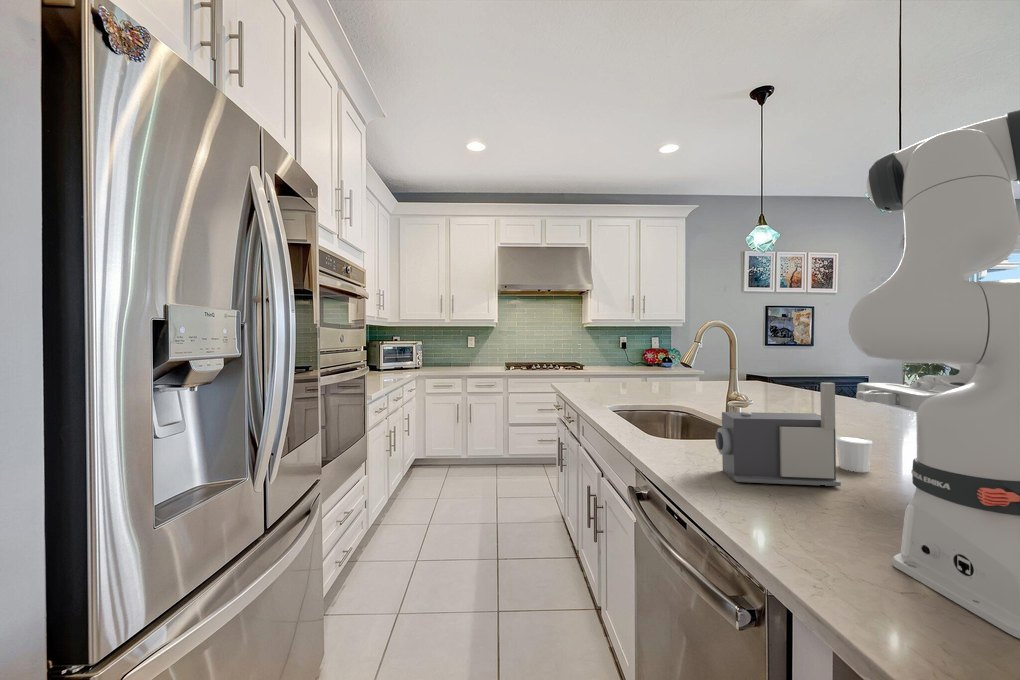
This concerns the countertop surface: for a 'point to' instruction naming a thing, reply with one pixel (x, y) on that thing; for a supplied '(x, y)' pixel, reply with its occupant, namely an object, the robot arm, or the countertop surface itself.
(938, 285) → the robot arm
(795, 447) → the side door
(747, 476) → the camera housing
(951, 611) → the countertop surface
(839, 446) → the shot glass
